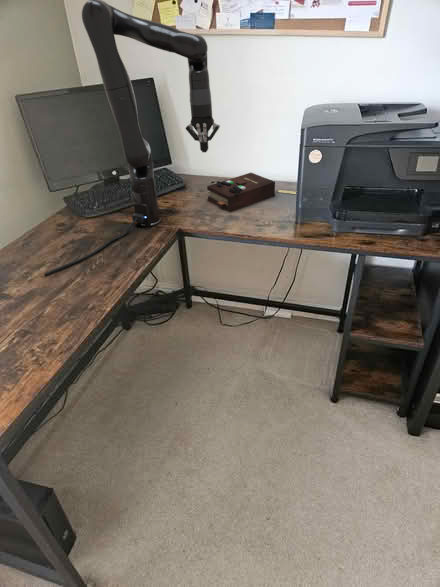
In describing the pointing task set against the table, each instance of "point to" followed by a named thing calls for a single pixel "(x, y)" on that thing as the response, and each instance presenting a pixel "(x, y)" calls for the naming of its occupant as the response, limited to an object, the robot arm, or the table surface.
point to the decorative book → (241, 191)
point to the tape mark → (287, 192)
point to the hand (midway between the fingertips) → (204, 151)
